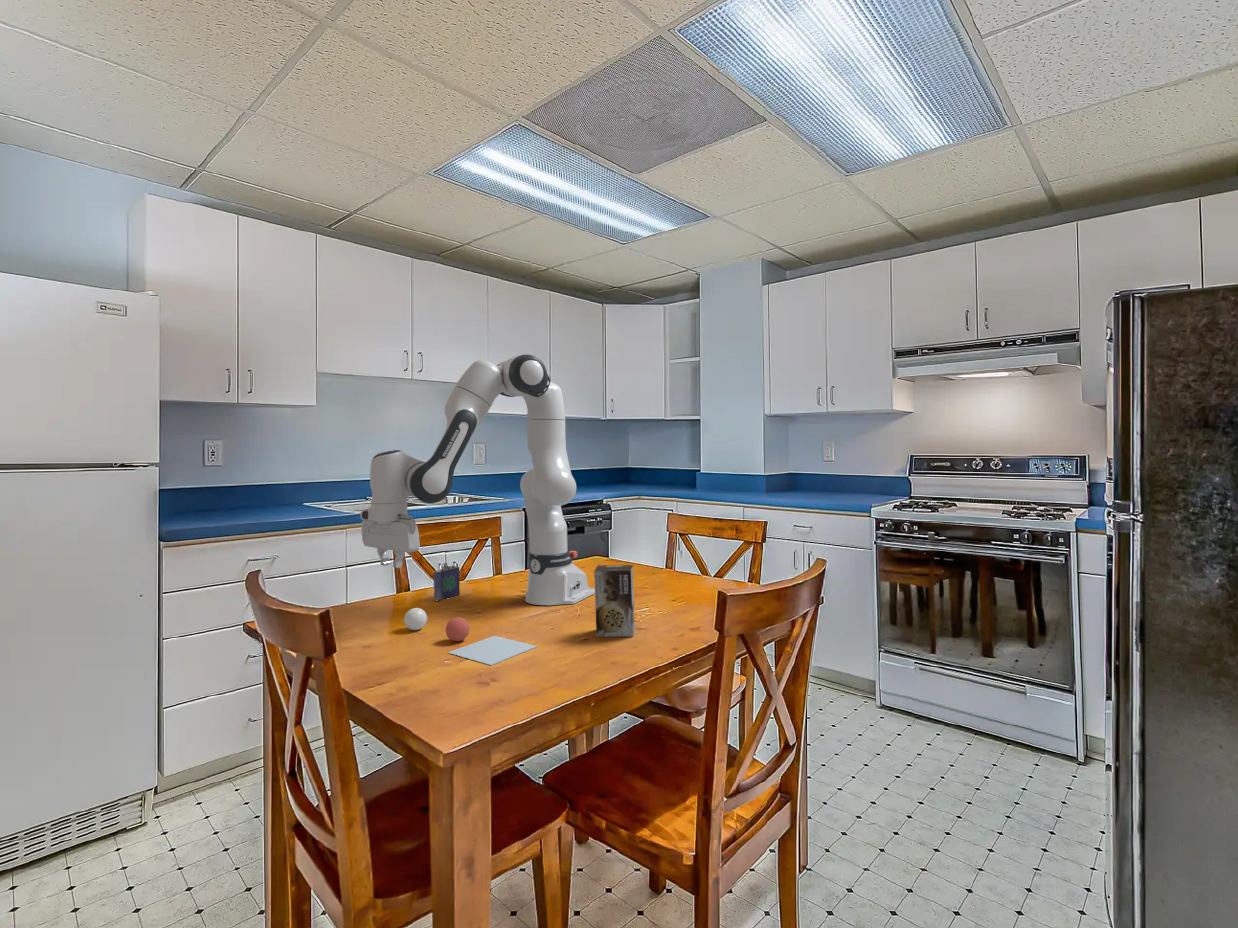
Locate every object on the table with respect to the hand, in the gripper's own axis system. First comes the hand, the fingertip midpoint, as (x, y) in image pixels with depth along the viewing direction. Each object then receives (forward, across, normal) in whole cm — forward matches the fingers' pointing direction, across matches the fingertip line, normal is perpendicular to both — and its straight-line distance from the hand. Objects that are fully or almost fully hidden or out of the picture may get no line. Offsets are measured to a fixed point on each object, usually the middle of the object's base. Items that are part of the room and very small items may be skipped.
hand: (391, 566), depth 164 cm
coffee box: (+15, -54, -25) cm, 61 cm away
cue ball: (+12, -10, 0) cm, 16 cm away
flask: (+15, +10, -25) cm, 31 cm away
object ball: (+12, -26, 0) cm, 28 cm away
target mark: (+15, -38, 0) cm, 40 cm away
